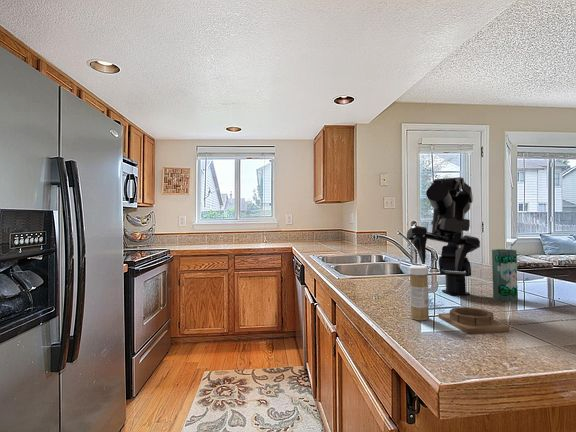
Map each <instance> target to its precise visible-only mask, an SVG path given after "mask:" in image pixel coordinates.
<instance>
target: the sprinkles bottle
mask: <svg viewBox="0 0 576 432" xmlns="http://www.w3.org/2000/svg"><path fill="white" fill-rule="evenodd" d="M408 274H409V289H410V290H409V291H410V293H409V296H410V298H409V300H410V318H411V319H413V320H414V321H415V320H416V321H428V320H429V319H430V313H429V311H430V310H429V309H430V308H429V302H430V301H429V297H430V296H429V283H428V282H429V281H428V274H429V268H428V266H425V265H410V266H409V267H408Z"/></svg>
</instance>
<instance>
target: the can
mask: <svg viewBox="0 0 576 432" xmlns="http://www.w3.org/2000/svg"><path fill="white" fill-rule="evenodd" d="M517 253H518V252H517V250H516V249H506V248H505V249H503V248H501V249H500V248H497V249H496V248H495V249H491V258H492V259H491V261H492V264H491V265H492V270H491V271H492V296H493V299H494V300H496V301H500V302H506V303H507V302H511V303H514V302H518V301H519V297H518V296H519V293H518V291H519V290H518V261H517V257H518V256H517Z"/></svg>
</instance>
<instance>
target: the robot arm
mask: <svg viewBox="0 0 576 432" xmlns="http://www.w3.org/2000/svg"><path fill="white" fill-rule="evenodd" d="M425 194H426V198H427V200H428V202H429V203H430V205H431V207H432V208H433V214H432V215H433V216H432V221H430V223H431V226H432V227H431V228H432V229H431V232H430V231H429V232H428V229H427V227H425V226H419V225H415V224H414V225H412V226H411V227H410V229H409V230H407V232H406V237H405V238H406V240H408V241H410V243H411V244H413V246H414V247H415V249H416V251H417V254H418V256H419V259H420V262H421V263H422V265H425V264H426V259H427V258H426V257H427V256H426V255H427V254H426V253H427V251H426V246H427V240H431V241H437V242H441V243H447V244H446V245H443V246H442V248H441V254H440V256H439V258H438V267H439V275H440V276H443V275H444V276H445V289H441V292H442V293H444V294H447V295H450V296H467V295H469V296H470V295H471V292H469V291H467V289H466V288H467V287H466V277H471V276H472V266H471V262H470V260H469V258H468V257H467V255H468V254H469V253H472V252H474V251H475V250H478V249H479V248H481V240H480V239H479V238H478V237H475V236H470V235H464V232H468V231H469V230H470V227H471V226H470V225H471V224H470V223H471V221H470V220H471V219H467V218H465V216H466V214H467V213H468V212H469V211H470V209H471V205H472V204H471V203H473V201H474V199H473V191H472V187H471V186H470V185H469V184H468V183H466V182H465V179H464V177H461V176H460V177H447V178H436V179H433V182H431V184H430V186H429V187H428V188H427V190H426V193H425Z"/></svg>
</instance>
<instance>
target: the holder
mask: <svg viewBox="0 0 576 432" xmlns="http://www.w3.org/2000/svg"><path fill="white" fill-rule="evenodd" d="M437 317H438V318H439V319H441V320H442V321H444V322H446V323H447V324H449V325H451V326H453V327H455V328H456V329H458V330H460V331H461V332H463V333H465V334H477V333H478V334H479V333H481V334H482V333H496V332H497V333H499V332H510V326H508V325H507V324H504V323H502V322H500V321H497V320H496V319H494V313H493V312H492V311H488V310H486V309H483V308H478V307H471V306H470V307H469V306H461V307H453V308H451V309H450V310H449V312H448V313H447V312H443V313H442V312H441V313H438V315H437Z"/></svg>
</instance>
